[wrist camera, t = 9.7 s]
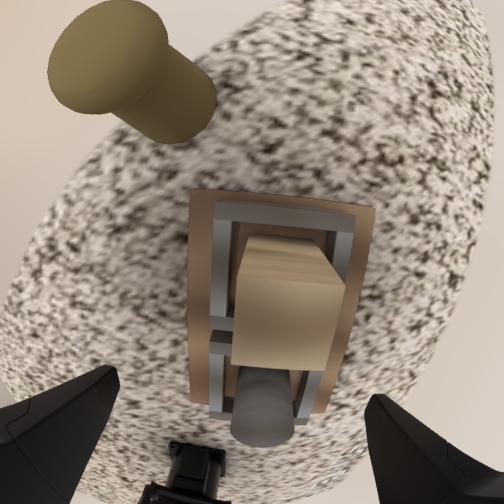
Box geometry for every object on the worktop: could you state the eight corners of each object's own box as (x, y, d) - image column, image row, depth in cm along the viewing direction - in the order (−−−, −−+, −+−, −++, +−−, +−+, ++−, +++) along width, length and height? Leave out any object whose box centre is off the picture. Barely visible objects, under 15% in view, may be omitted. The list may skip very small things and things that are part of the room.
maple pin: (303, 296, 19) (324, 371, 11) (244, 291, 19) (230, 364, 11) (312, 239, 18) (345, 285, 10) (249, 232, 18) (237, 275, 10)
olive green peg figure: (231, 77, 16) (193, -20, 5) (195, 156, 18) (108, 134, 7) (156, 58, 16) (73, -16, 5) (123, 131, 17) (9, 107, 7)
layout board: (323, 405, 23) (334, 463, 16) (193, 394, 23) (174, 452, 16) (370, 206, 18) (421, 223, 11) (194, 188, 18) (154, 195, 11)
